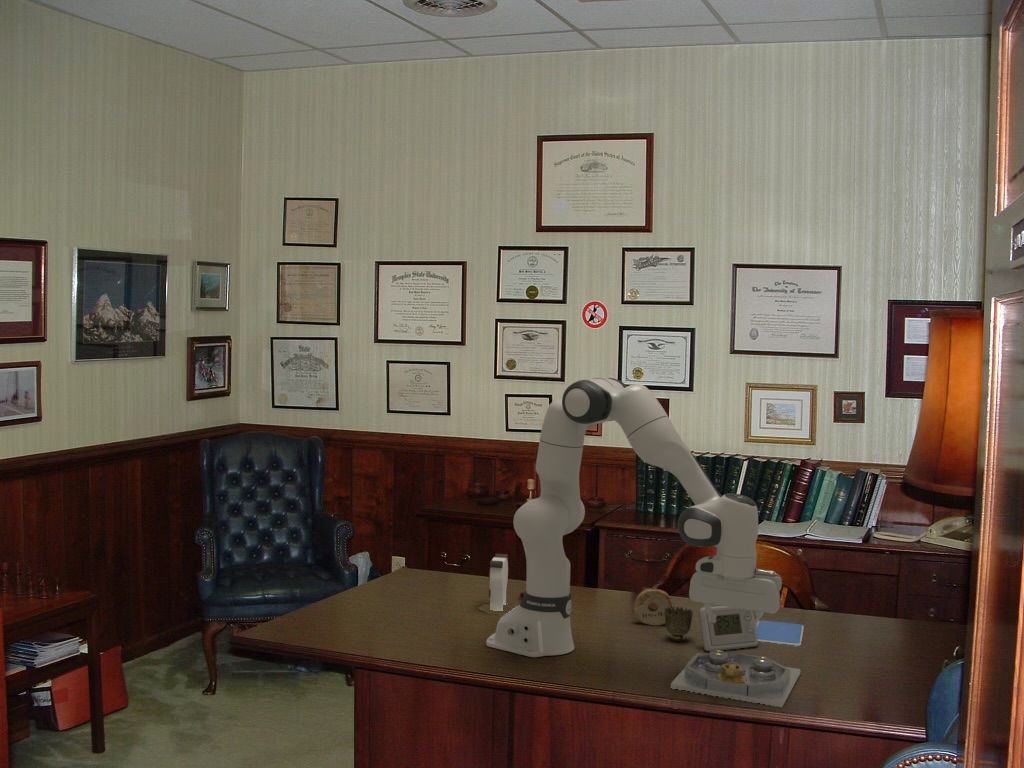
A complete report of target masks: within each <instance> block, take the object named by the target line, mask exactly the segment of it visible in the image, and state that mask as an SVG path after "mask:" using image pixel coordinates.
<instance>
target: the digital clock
mask: <svg viewBox="0 0 1024 768" xmlns="http://www.w3.org/2000/svg"><path fill="white" fill-rule="evenodd" d="M710 608H711V611H712V613H713V614H716V622H715V624H714V623H708V615H707V613H706V611H705V609H704V607H701V608H699V610H698V618H699V624H700V631H701V639H702V645H703V648H704V650H705V651H707V652H710V651H711V650H716V649H720V650H723V651H724V650H726V651H734V650H733V649H736V650H741V649H740V648H745V649H748V648H754V647H757V646H758V645H759V642H758V639H757V633H756V630H751V629H749V627H750V621H751V620H754V621H755V614H754V611H753V610H747V609H740V608H734V607H727V606H721V605H712V606H711V607H710ZM731 649H732V650H731Z"/></svg>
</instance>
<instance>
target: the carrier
mask: <svg viewBox="0 0 1024 768" xmlns="http://www.w3.org/2000/svg"><path fill="white" fill-rule="evenodd" d="M729 663H730V664H729ZM723 664H729V669H736V664H738V665H740V666H741V667H742V676H744V677H746V678H747V684H743V683H737V682H731V681H725V680H719V679H716V677H717V675H718V674H719V673H721V667H722V665H723ZM800 675H801V669H800V668H796V667H795V668H794V667H788V666H784V665H783V664H780V663H778V662H776V661H775V660H773V659H772V658H771V657H768V656H764V655H754V654H747V653H742V652H741V653H740V652H733V651H727V650H726V651H723V650H720V649H716V650H711V651H709V653H698V652H697V654H695V655H693V656H692V658H690V660H689V661H688V662H687V663H686V664H685V665H684V668H683V669H682V670H681V672H679V674H678V675H677V676H676V677H675V678H674V679H673V680H672V682H671V683H670V689H671V688H672V689H671V690H675V689H678V690H677V691H681V690H686V691H685V692H687V691H690V692H689V693H693V692H695V693H694V694H698V693H701V694H700V695H704V694H707V695H706V696H710V695H711V696H712V697H716V696H718V697H717V698H722V697H723V699H728V698H731V699H730V700H734V699H735V700H734V701H740V700H741V702H745V701H746V702H747V703H751V702H752V703H753V704H757V703H760V704H759V705H763V704H765V705H764V706H769V705H770V707H775V708H781V709H782V708H783V707H784V705H785V703H786V701H787V700H788V698H789V695H790V694H791V692H792V690H793V688H794V686H795V684H796V683H797V681H798V679H799V677H800ZM711 696H710V697H711Z"/></svg>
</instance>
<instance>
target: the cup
mask: <svg viewBox="0 0 1024 768" xmlns="http://www.w3.org/2000/svg"><path fill="white" fill-rule="evenodd" d="M692 621H693V610H692V609H691V608H687V607H685V608H683V607H682V606H677V607H676V608H675V607H674V606H672V609H671V608H670V607H667V609H666V608H665V623H664V624H665V628H666V631H667V632H668V633H669V634H670V639H671V640H672V641H674V642H683V641H685V637H686V636H685V635H687V634H688V633H689V632H690V629H691V626H692Z"/></svg>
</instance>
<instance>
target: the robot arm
mask: <svg viewBox="0 0 1024 768" xmlns="http://www.w3.org/2000/svg"><path fill="white" fill-rule="evenodd" d="M612 421H615V422H616V423H617V424H618V425H619V426H620V427H621V430H622V432H623V433H624V435H625V437H626V439H627V441H628V442H629V445H630V446H631V448H632V450H633V451H634V452H635V454H636V455H637V456H638V457H639V459H640V460H642V461H643V462H644V463H646V464H648V465H652V466H654V467H658V468H661V469H663V470H666V471H667V472H669V473H670V474H672V475H673V476H674V477H675V478H676V479H677V480H678V481H679V483H680V484H681V486H682V487H683V489H684V490H685V491H686V493H687V494H688V496H689V497H690V499H691V501H692V502H693V503H694V505H691V506H689V507H688V508H685V509H684V510H683V511H682V512H681V513H680V515H679V516H678V519H677V530H678V534H679V536H680V537H681V539H682V540H683V541H684V542H685V543H686V544H687V545H689V546H691V547H697V548H703V547H706V548H707V547H715V548H716V555H711V556H705V557H702V558H700V559H698V560H697V562H696V563H695V571H696V572H694V573H693V574H692V576H691V580H690V584H689V591H688V597H689V598H690V600H691V601H692V602H695V603H696V602H697V603H702V604H703V608H704V609H705V611H706V613H707V615H708V623H714V624H715V622H716V614H713V613H712V611H711V608H710V607H712V606H727V607H734V608H740V609H747V610H753V612H755V614H754V616H756V618H754V620H755V621H754V620H751V621H750V627H749V629H751V630H757V624H758V621H760V619H761V618H762V617H763V615H764V613H767V614H775V613H777V612H778V611H779V609H780V606H781V603H780V602H781V597H780V591H781V589H782V587H783V579H782V577H781V575H780V574H778V573H776V571H773V570H766V569H765V570H764V569H761V568H757V555H758V553H757V550H756V543H757V540H758V537H759V514H758V512H759V511H758V507H757V504H756V502H755V501H754V500H753V499H752V498H750V497H748V496H747V495H743V494H739V493H733V492H730V493H725V494H723V495H722V494H721V493H720V492H719V490H718V489H717V488H716V487H715V485H714V483H713V482H712V480H711V479H710V477H709V476H708V474H707V473H706V471H705V470H704V469H703V466H702V465H701V464H700V462H699V461H698V460H697V458H696V457H695V455H694V454H693V452H692V451H691V450H690V449H689V447H688V446H687V445H686V443H685V442H684V440H683V439H682V438H681V437H682V436H680V434H679V432H678V431H677V430H676V428H675V426H674V424H673V422H672V421H671V419H670V418H669V416H668V414H667V412H666V411H665V409H664V408H663V406H662V404H661V403H660V401H659V400H658V399H657V398H656V397H655V395H654V394H653V393H652V392H651V390H650V389H649V388H648V387H647V386H645V385H644V384H639V383H638V384H637V383H635V384H631V385H627V384H625V383H624V382H623V381H622V380H619V379H617V378H613V377H608V378H607V377H606V378H605V377H594V378H593V377H592V378H590V379H581V380H580V379H579V380H577V381H575V382H573V383H571V384H570V385H568V386H567V387H566V389H565V390H564V392H563V395H562V398H557V399H556V400H555V399H554V400H553V401H551V403H549V405H548V408H547V410H546V412H545V416H544V418H543V423H542V426H541V430H540V436H539V443H538V449H537V455H536V462H535V471H536V474H537V475H538V476H539V482H540V483H539V484H540V494H539V495H540V496H539V497H536V498H533V499H532V498H531V499H530V500H528V501H527V502H525V503H524V504H523V505H521V506H520V507H519V508H518V509H517V510H516V511H515V513H514V517H513V522H512V523H513V529H514V531H515V534H516V535H517V536H518V538H520V540H521V543H522V545H523V550H524V554H525V559H526V561H525V562H526V588H524V589H523V591H522V592H520V593H519V594H518V595H517V596H516V597H517V598H516V601H519V604H518V605H515V606H516V607H515V608H513V609H512V610H511V611H509V612H508V613H506V614H503V615H502V616H501V617H500V618H499V620H498V621H497V624H496V629H495V632H494V633H492V634H491V635H490V636H488V638H487V639H486V642H485V645H486V646H487V647H489V648H494V649H497V650H501V651H505V652H509V653H514V654H517V655H521V656H522V655H523V656H526V657H530V658H539V657H545V656H560V655H561V656H562V655H565V654H568V653H571V652H573V651H574V650H575V644H574V640H573V636H572V635H573V634H572V628H571V627H572V626H571V614H572V593H571V591H570V589H571V562H570V560H569V559H568V558H567V556H566V552H565V550H564V544H563V543H564V542H563V537H564V536H566V535H568V534H571V533H572V532H574V531H575V530H576V529H578V527H579V526H581V524H582V522H583V521H584V519H585V515H586V510H585V505H584V503H583V501H582V500H581V495H580V494H581V493H580V491H581V490H580V471H581V470H580V469H581V463H582V458H583V457H582V456H583V450H584V443H585V436H586V432H587V429H588V427H589V426H590V425H592V424H593V425H595V424H596V425H597V424H603V423H605V422H612Z"/></svg>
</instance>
